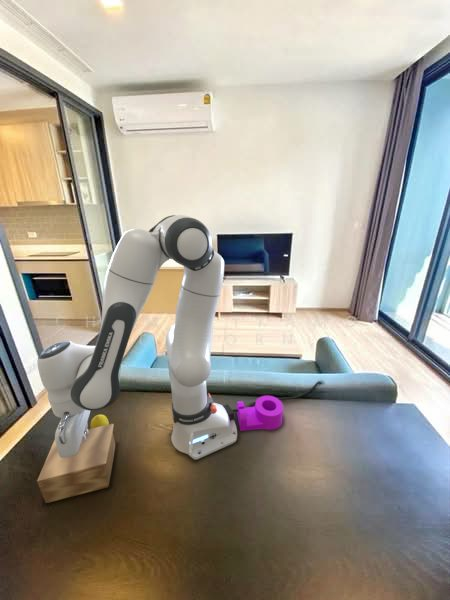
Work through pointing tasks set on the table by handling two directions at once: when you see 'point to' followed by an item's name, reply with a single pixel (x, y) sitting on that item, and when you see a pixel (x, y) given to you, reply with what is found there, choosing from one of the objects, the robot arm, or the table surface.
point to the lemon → (99, 421)
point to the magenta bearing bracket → (260, 414)
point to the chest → (79, 481)
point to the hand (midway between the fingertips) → (84, 438)
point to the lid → (79, 455)
